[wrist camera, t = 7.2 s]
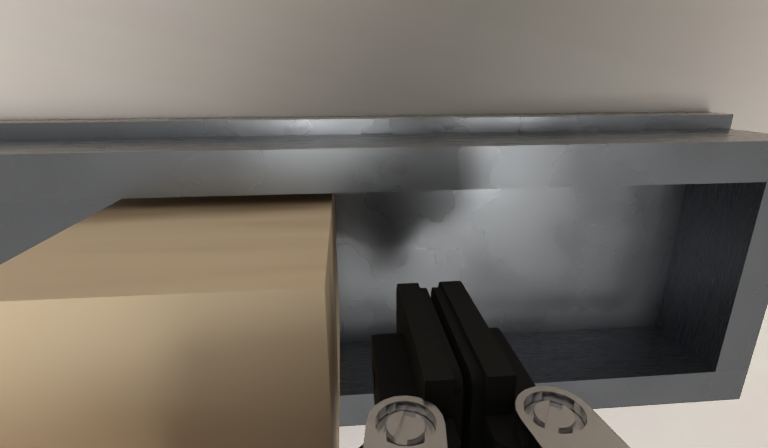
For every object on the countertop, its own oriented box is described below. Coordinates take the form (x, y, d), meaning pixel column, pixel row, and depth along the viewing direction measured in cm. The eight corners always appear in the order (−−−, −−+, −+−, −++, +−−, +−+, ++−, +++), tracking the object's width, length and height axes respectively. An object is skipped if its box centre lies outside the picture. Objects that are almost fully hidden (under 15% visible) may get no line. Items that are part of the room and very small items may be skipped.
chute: (-47, 121, 14) (-188, 136, 10) (710, 112, 16) (821, 122, 13) (32, 382, 17) (-55, 466, 14) (659, 345, 19) (735, 410, 16)
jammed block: (147, 185, 14) (-74, 304, 7) (333, 180, 15) (324, 287, 7) (175, 345, 16) (27, 580, 9) (339, 336, 17) (337, 551, 9)
